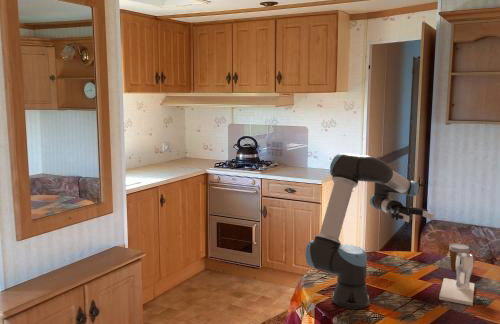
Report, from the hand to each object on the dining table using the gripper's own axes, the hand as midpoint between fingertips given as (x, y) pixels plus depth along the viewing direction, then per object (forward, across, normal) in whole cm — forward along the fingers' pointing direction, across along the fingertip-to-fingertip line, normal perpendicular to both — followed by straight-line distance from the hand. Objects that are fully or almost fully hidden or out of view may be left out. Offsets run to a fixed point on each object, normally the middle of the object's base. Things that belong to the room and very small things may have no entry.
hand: (420, 218), depth 218 cm
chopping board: (+17, -8, -30) cm, 36 cm away
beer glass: (+16, -11, -29) cm, 35 cm away
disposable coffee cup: (-5, -29, -30) cm, 42 cm away
